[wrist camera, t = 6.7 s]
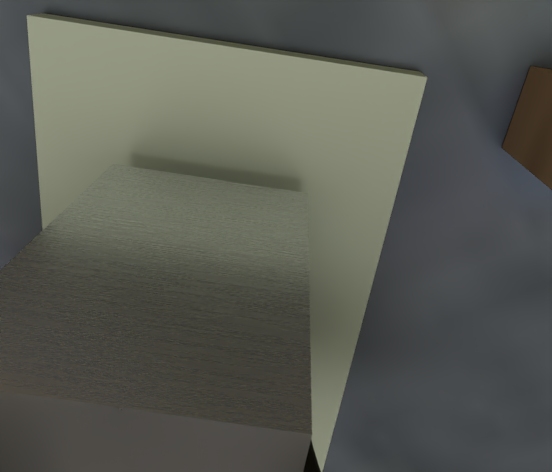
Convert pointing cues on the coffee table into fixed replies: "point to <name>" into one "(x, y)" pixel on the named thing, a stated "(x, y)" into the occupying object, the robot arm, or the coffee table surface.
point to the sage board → (236, 148)
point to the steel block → (159, 331)
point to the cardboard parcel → (533, 126)
